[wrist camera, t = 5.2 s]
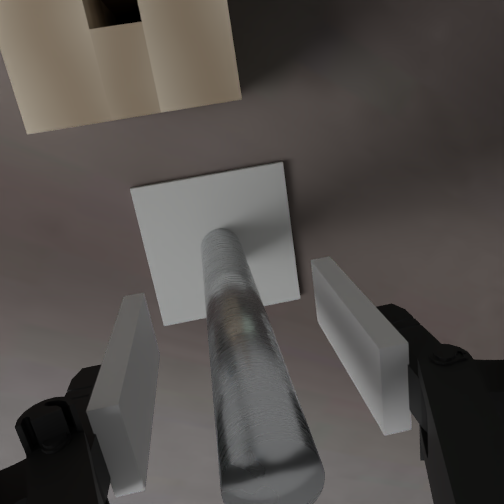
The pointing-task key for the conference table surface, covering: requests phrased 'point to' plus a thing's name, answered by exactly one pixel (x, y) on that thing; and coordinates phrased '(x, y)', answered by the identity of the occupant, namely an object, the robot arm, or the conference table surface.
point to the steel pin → (252, 389)
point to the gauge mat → (207, 219)
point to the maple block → (115, 58)
